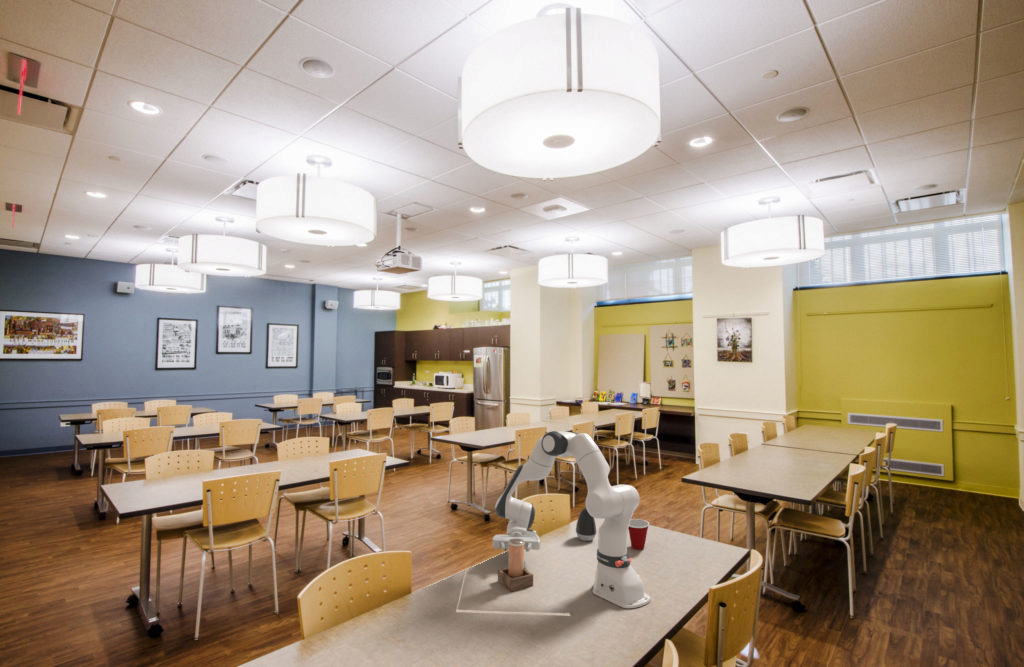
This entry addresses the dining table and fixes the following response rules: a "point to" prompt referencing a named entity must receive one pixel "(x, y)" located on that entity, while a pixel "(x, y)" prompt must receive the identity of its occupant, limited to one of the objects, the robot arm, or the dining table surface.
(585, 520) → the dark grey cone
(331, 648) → the dining table surface
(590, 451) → the robot arm
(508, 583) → the holder
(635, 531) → the plastic cup
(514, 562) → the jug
